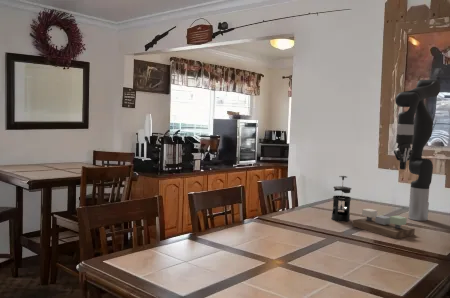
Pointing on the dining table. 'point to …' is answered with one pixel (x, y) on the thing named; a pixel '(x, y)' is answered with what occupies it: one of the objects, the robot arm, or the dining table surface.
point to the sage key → (398, 221)
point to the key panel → (384, 228)
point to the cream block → (369, 213)
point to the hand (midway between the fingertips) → (402, 169)
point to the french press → (341, 215)
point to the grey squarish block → (382, 220)
